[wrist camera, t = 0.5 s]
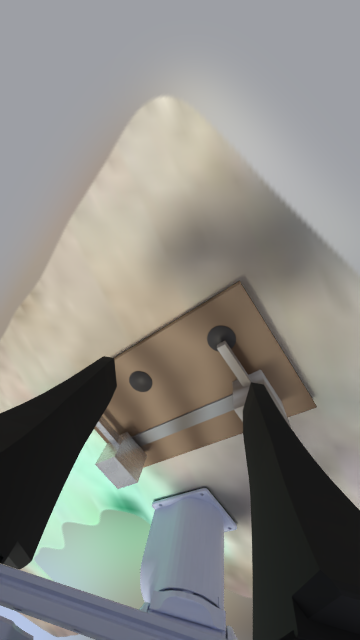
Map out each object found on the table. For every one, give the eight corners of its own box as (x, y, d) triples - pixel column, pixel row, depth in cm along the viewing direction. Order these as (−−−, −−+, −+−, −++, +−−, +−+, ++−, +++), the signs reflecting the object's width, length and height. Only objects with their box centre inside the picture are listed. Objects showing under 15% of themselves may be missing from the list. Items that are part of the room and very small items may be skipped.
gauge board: (135, 462, 30) (116, 509, 25) (68, 386, 27) (32, 419, 22) (312, 398, 22) (339, 447, 17) (239, 281, 19) (245, 295, 14)
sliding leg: (129, 462, 27) (117, 488, 24) (85, 412, 26) (67, 434, 23) (147, 455, 26) (137, 482, 23) (103, 403, 25) (86, 425, 22)
